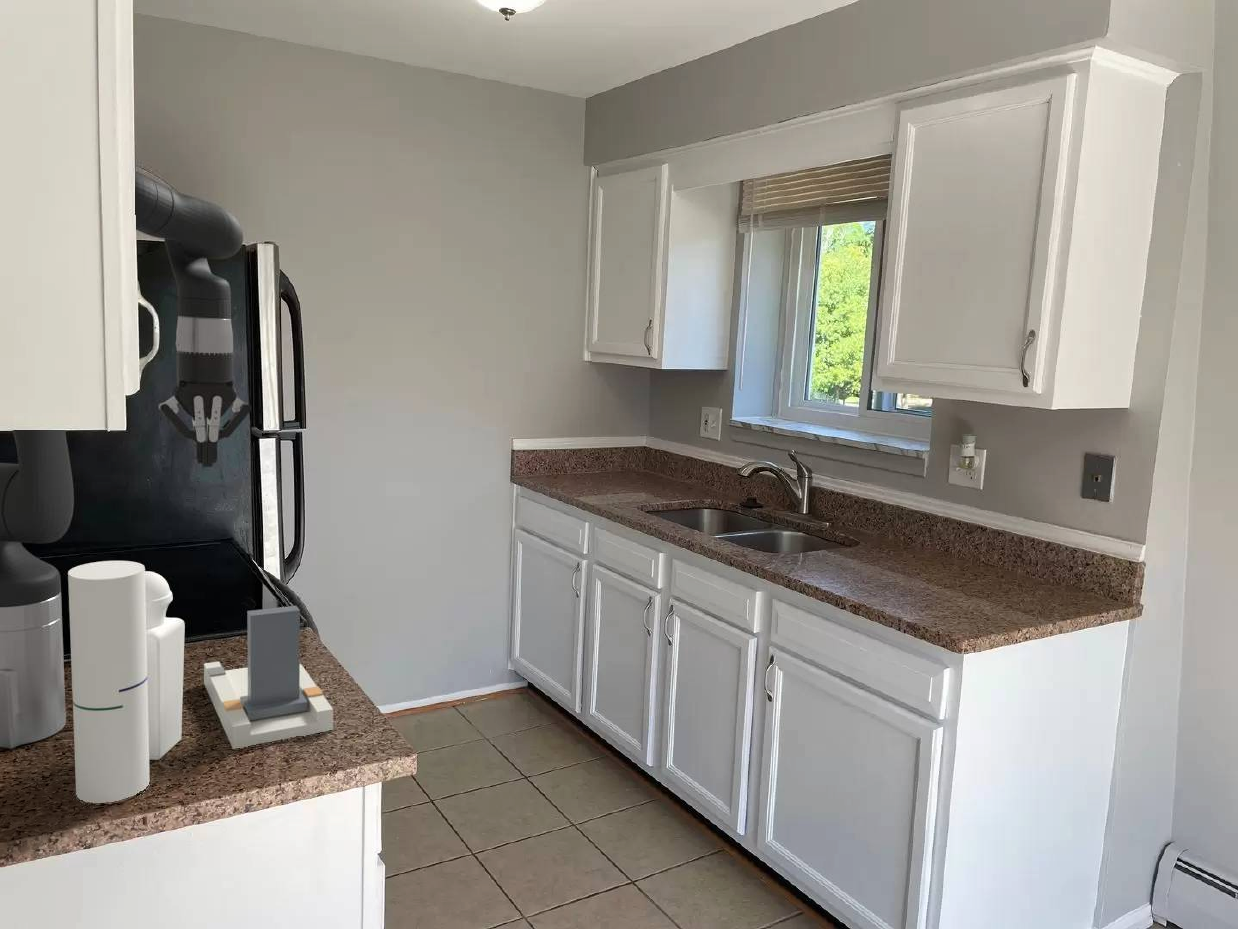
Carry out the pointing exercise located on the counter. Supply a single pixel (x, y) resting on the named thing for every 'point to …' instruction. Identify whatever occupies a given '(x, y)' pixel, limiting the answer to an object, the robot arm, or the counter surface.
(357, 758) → the counter surface
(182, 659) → the soap dispenser
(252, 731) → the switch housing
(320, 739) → the counter surface
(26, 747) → the counter surface
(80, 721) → the cylindrical container
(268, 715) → the switch tab
